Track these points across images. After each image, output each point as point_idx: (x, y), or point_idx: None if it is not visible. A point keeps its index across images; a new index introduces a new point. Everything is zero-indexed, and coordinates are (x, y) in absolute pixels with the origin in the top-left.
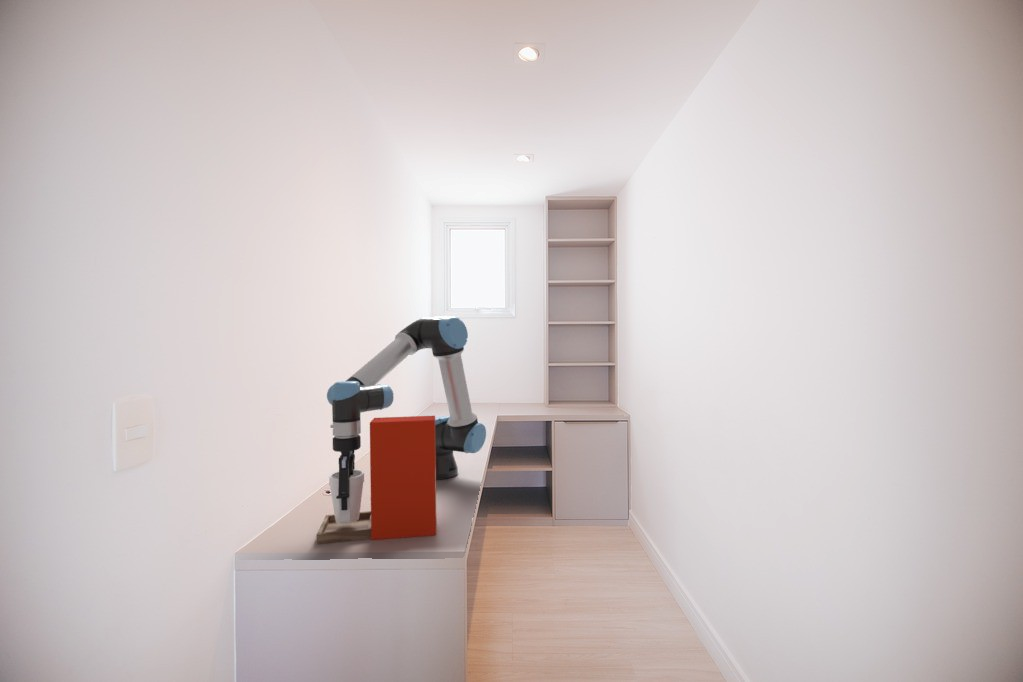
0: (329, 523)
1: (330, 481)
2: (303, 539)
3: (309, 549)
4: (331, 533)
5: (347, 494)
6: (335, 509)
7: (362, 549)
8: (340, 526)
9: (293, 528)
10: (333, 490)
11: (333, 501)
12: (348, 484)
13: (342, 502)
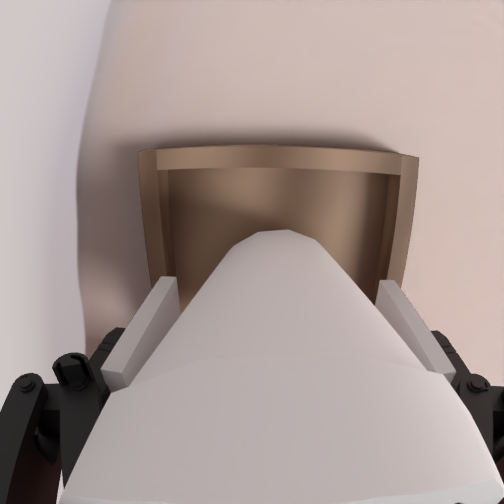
0: (367, 174)
1: (141, 432)
2: (225, 73)
3: (112, 133)
4: (144, 223)
5: (38, 433)
6: (219, 270)
7: (97, 323)
8: (307, 234)
9: (379, 13)
10: (144, 365)
11: (222, 284)
12: (50, 495)
13: (91, 367)
